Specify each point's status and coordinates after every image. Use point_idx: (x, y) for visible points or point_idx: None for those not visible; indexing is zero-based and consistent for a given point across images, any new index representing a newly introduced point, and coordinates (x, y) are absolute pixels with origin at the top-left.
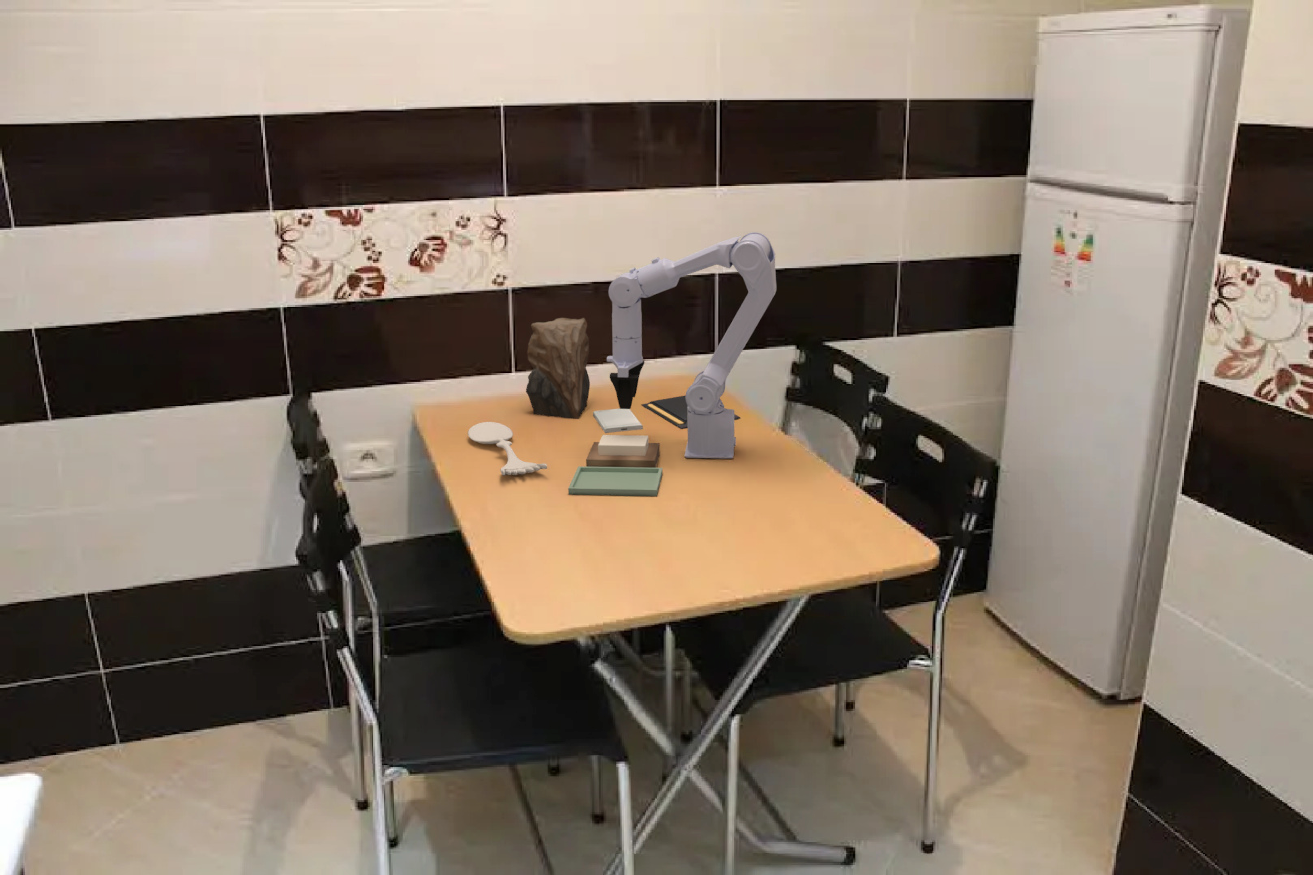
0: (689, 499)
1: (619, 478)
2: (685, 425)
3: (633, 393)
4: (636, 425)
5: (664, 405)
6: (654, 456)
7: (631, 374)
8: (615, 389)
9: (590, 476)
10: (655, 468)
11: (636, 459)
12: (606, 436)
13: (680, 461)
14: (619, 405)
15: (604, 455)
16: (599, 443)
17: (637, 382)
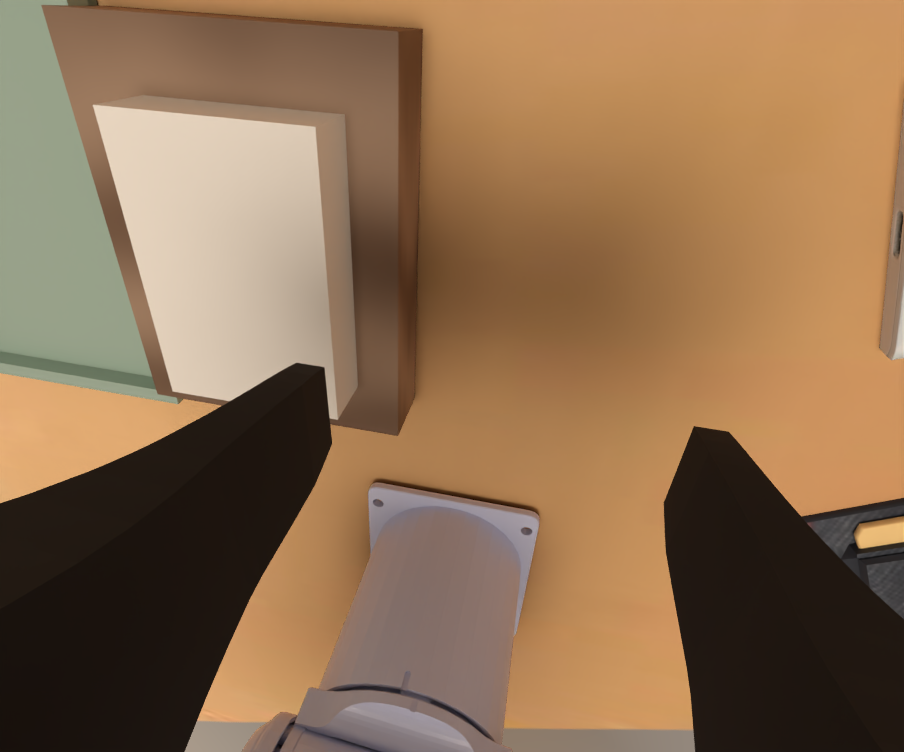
0: (9, 441)
1: (53, 214)
2: (828, 544)
3: (674, 525)
4: (898, 326)
5: None
6: (206, 398)
7: (738, 749)
8: (83, 474)
9: (16, 46)
10: None
11: (146, 319)
12: (284, 161)
13: (341, 460)
14: (272, 376)
15: None
16: (128, 113)
17: (687, 670)
